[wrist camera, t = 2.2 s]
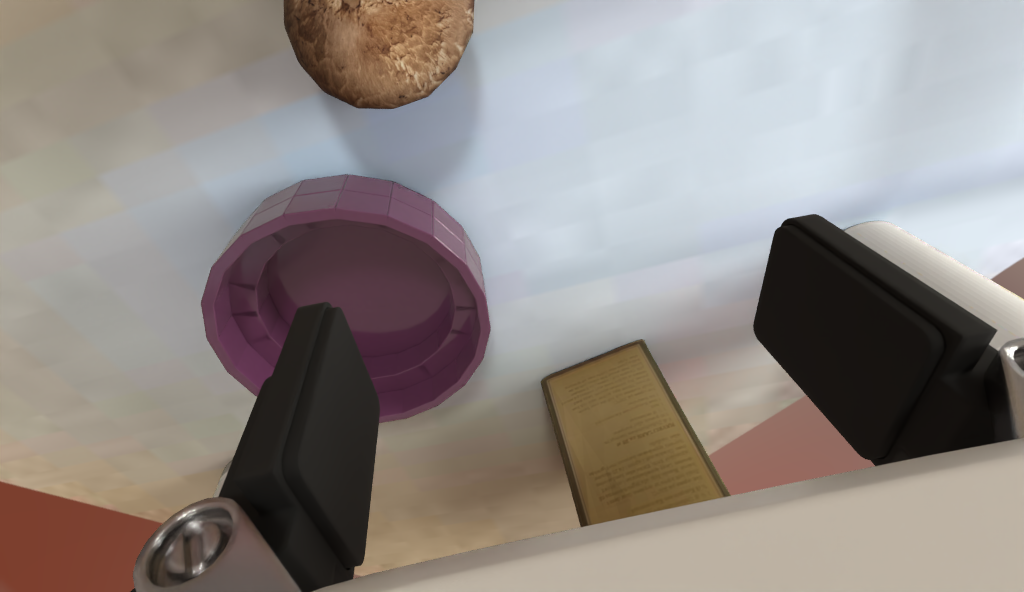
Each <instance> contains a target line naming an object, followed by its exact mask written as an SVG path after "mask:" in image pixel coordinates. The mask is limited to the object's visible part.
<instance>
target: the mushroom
mask: <svg viewBox="0 0 1024 592" xmlns="http://www.w3.org/2000/svg"><path fill="white" fill-rule="evenodd" d="M473 20H474V0H284V25H285V29H286V32H287V34H288V37H289V39H290V42H291V44H292V47H293V50H294V52H295V55H296V57H297V60H298V62H299V63H300V65H301V66H302V67H303V69H304V70H305V71H306V72H307V73H308V74H309V75H310V77H311V78H312V79H313V80H314V81H315V82H316V83H317V85H318V86H319V87H320V88H321V89H322V90H323V91H324V92H325V93H327V94H329V95H331V96H333V97H335V98H337V99H339V100H341V101H343V102H346V103H348V104H350V105H352V106H354V107H356V108H371V109H394V108H397V107H400V106H403V105H406V104H409V103H411V102H414V101H417V100H420V99H423V98H426V97H428V96H429V95H430V94H431V93H432V92H433V91H434V90H435V89H436V88H437V87H438V86H439V85H440V84H441V83H442V82H443V81H444V80H445V79H446V78H447V77H448V76H449V75H450V74H451V73H452V72H453V71H454V70H455V69H456V67H457V65H458V63H459V61H460V59H461V57H462V54H463V52H464V50H465V48H466V46H467V44H468V42H469V39H470V37H471V35H472V33H473Z"/></svg>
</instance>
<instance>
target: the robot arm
mask: <svg viewBox="0 0 1024 592" xmlns="http://www.w3.org/2000/svg"><path fill="white" fill-rule="evenodd" d="M753 328H754V333H755V335H756V337H757V339H758V340H759V341H760V343H761V344H762V345H763V346H764V347H765V348H766V349H767V351H768V352H769V353H770V354H771V355H772V356H773V357H774V358H775V360H776V361H777V362H778V363H779V364H780V365H781V366H782V368H783V369H784V370H785V371H786V372H787V373H788V374H789V376H790V377H791V378H792V379H793V380H794V381H795V382H796V384H797V385H798V386H799V387H800V388H801V389H802V390H803V392H804V393H805V394H806V395H807V396H808V397H809V398H810V399H811V401H812V402H813V403H814V404H815V405H816V406H817V407H818V409H819V410H820V411H821V412H822V413H823V414H824V415H825V416H826V418H827V419H828V420H829V421H830V422H831V423H832V425H833V426H834V427H835V428H836V429H837V430H838V431H839V433H840V434H841V435H842V436H843V437H844V438H845V439H846V440H847V442H848V443H849V444H850V445H851V446H852V447H853V448H854V450H855V451H856V452H857V453H858V454H859V455H860V456H861V457H863V458H865V459H868V460H871V461H872V463H873V464H874V465H875V467H870V468H865V469H860V470H855V471H850V472H845V473H840V474H835V475H830V476H825V477H820V478H815V479H811V480H805V481H800V482H796V483H791V484H786V485H781V486H777V487H771V488H767V489H762V490H757V491H752V492H747V493H742V494H738V495H733V496H728V497H723V498H718V499H713V500H709V501H704V502H699V503H694V504H689V505H685V506H680V507H675V508H670V509H666V510H661V511H656V512H651V513H646V514H642V515H637V516H632V517H627V518H622V519H618V520H613V521H608V522H604V523H599V524H594V525H590V526H585V527H580V528H576V529H571V530H566V531H561V532H557V533H552V534H547V535H543V536H538V537H533V538H529V539H524V540H519V541H515V542H510V543H505V544H501V545H496V546H491V547H487V548H482V549H477V550H472V551H468V552H464V553H459V554H455V555H451V556H446V557H442V558H438V559H434V560H429V561H425V562H421V563H416V564H412V565H408V566H403V567H399V568H395V569H390V570H386V571H382V572H377V573H373V574H370V575H366V576H363V577H359V578H355V579H353V575H354V567H355V566H360V565H362V563H363V560H364V556H365V547H366V538H367V529H368V519H369V510H370V501H371V491H372V482H373V473H374V463H375V454H376V445H377V435H378V426H379V416H380V403H379V398H378V395H377V392H376V390H375V388H374V385H373V383H372V380H371V378H370V376H369V373H368V371H367V368H366V366H365V363H364V361H363V359H362V356H361V354H360V351H359V349H358V347H357V344H356V342H355V339H354V337H353V334H352V332H351V330H350V327H349V325H348V322H347V320H346V318H345V315H344V313H343V311H342V309H341V308H340V307H334V308H333V307H332V305H331V304H330V303H329V302H323V303H317V304H312V305H306V306H301V307H298V309H297V311H296V313H295V316H294V319H293V321H292V324H291V327H290V329H289V332H288V334H287V337H286V340H285V342H284V345H283V348H282V350H281V353H280V356H279V358H278V361H277V364H276V366H275V369H274V371H273V374H272V376H270V377H268V378H267V379H266V380H265V381H264V383H263V385H262V387H261V389H260V392H259V394H258V397H257V399H256V402H255V404H254V407H253V410H252V412H251V415H250V417H249V420H248V422H247V425H246V427H245V430H244V432H243V435H242V438H241V440H240V443H239V445H238V448H237V450H236V453H235V455H234V458H233V460H232V463H231V465H230V468H229V471H228V473H227V476H226V478H225V481H224V483H223V486H222V488H221V491H220V493H219V496H218V497H215V498H207V499H204V500H201V501H198V502H196V503H193V504H190V505H189V506H187V507H185V508H184V509H182V510H180V511H179V512H177V513H175V514H174V515H173V516H171V517H170V518H169V519H168V520H167V521H166V522H164V523H163V524H162V525H161V526H160V527H159V528H158V529H157V530H156V531H155V532H154V534H153V535H152V536H151V537H150V538H149V539H148V541H147V542H146V543H145V545H144V547H143V549H142V550H141V552H140V554H139V556H138V558H137V560H136V564H135V568H134V572H133V579H134V587H135V588H134V589H133V590H132V591H131V592H1024V338H1018V339H1014V340H1011V341H1007V342H1006V343H1005V344H1004V345H1003V346H1002V347H1001V348H1000V350H999V351H998V350H996V349H995V348H993V347H992V346H990V345H989V343H990V342H991V340H992V339H993V337H994V335H995V334H996V332H997V331H998V330H997V329H995V328H994V327H992V326H991V325H989V324H987V323H986V322H984V321H983V320H981V319H980V318H978V317H977V316H975V315H973V314H972V313H970V312H969V311H967V310H966V309H964V308H963V307H961V306H959V305H958V304H956V303H955V302H953V301H952V300H950V299H949V298H947V297H945V296H944V295H942V294H941V293H939V292H938V291H936V290H935V289H933V288H931V287H930V286H928V285H927V284H925V283H924V282H922V281H921V280H919V279H917V278H916V277H914V276H913V275H911V274H910V273H908V272H907V271H905V270H903V269H902V268H900V267H899V266H897V265H896V264H894V263H893V262H891V261H889V260H888V259H886V258H885V257H883V256H882V255H880V254H879V253H877V252H875V251H874V250H872V249H871V248H869V247H868V246H866V245H865V244H863V243H861V242H860V241H858V240H857V239H855V238H854V237H852V236H851V235H849V234H847V233H846V232H844V231H843V230H841V229H840V228H838V227H837V226H835V225H833V224H832V223H830V222H829V221H827V220H826V219H824V218H823V217H821V216H819V215H816V214H813V215H806V216H801V217H795V218H790V219H787V220H785V221H784V222H783V223H782V225H781V227H779V228H777V230H776V231H775V233H774V237H773V241H772V245H771V250H770V254H769V258H768V263H767V267H766V271H765V276H764V280H763V284H762V289H761V293H760V297H759V302H758V306H757V310H756V315H755V319H754V324H753Z"/></svg>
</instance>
